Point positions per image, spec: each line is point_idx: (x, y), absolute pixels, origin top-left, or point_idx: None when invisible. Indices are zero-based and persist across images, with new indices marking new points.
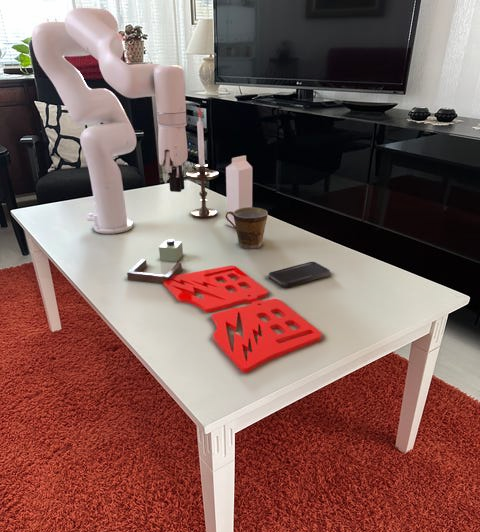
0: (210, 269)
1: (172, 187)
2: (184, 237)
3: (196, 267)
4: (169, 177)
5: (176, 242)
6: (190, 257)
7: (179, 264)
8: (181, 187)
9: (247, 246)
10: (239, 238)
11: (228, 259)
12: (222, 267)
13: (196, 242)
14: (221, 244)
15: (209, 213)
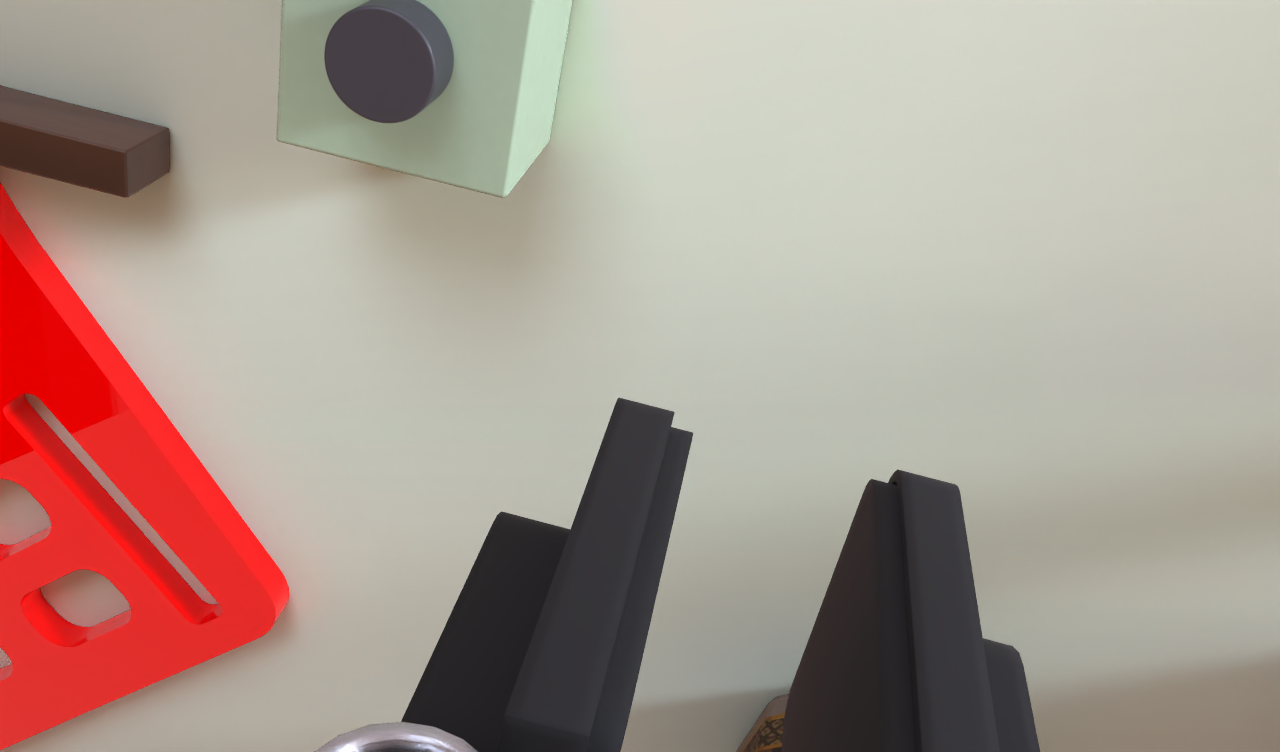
0: (156, 448)
1: (483, 551)
2: (1197, 94)
3: (254, 307)
4: (515, 712)
5: (477, 126)
6: (493, 231)
7: (78, 182)
8: (800, 707)
9: (740, 750)
10: None
11: None
12: (219, 541)
13: (970, 269)
14: None
15: None
